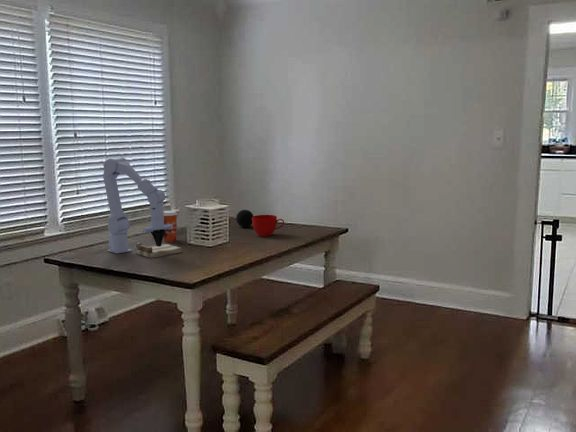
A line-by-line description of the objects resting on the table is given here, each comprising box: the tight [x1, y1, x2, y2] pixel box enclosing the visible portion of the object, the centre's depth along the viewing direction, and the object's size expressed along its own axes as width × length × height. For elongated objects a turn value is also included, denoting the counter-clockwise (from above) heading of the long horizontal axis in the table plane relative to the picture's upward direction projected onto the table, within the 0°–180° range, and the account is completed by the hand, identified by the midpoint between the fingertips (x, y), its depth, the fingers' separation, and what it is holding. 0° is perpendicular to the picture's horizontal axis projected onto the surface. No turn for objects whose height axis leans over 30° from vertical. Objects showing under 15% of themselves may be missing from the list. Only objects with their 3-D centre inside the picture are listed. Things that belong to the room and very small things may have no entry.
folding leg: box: [135, 242, 152, 253], centre depth 275 cm, size 11×2×3 cm, turn 43°
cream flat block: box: [134, 243, 182, 259], centre depth 279 cm, size 14×16×2 cm
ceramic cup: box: [252, 214, 285, 237], centre depth 315 cm, size 13×17×10 cm
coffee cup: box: [163, 210, 178, 243], centre depth 305 cm, size 8×8×15 cm
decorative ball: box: [235, 209, 254, 228], centre depth 340 cm, size 10×10×10 cm
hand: (158, 246), depth 276 cm, fingers closed
